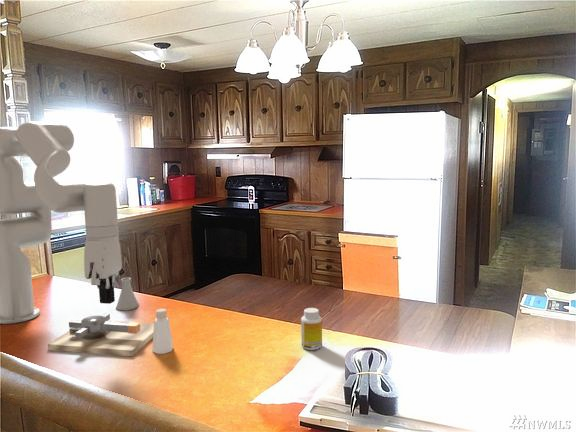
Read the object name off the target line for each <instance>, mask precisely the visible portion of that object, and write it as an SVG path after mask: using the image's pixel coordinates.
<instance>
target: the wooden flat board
mask: <svg viewBox="0 0 576 432" xmlns="http://www.w3.org/2000/svg"><path fill="white" fill-rule="evenodd" d="M107 322H122V323H140V331H139V332H138V333H137V334H131V333H126V332H112V331H106V334H105V335H104V336H102V337H100V338H96V339H84V338H83V337H82V338H81V339H78V338H76V336H75V332H77V331H78V330H80V329H82V328H69V331H67V332H65V333H63V334H62V335H60V336H59V337H57V338H55V339H53V340H52V341H50V342H49V343H47V350H48V351H55V352H56V351H59V352H69V353H70V352H71V353H72V352H73V353H85V354H96V355H97V354H98V355H110V356H122V357H123V356H124V357H133V356H135V355H136V354H137V353H138V352H139V351H140V350H141V349H143V348H144V347H145V346H146V345H147V344H148V343H149V342H151V341H152V340H153V333H154V322H153V323H151V322H150V323H149V322H138V321H137V322H135V321H122V320H121V321H120V320H119V321H118V320H108V321H107Z"/></svg>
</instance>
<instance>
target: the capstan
mask: <svg viewBox="0 0 576 432" xmlns="http://www.w3.org/2000/svg"><path fill="white" fill-rule="evenodd" d="M110 320H111V314H110V313H104V314H102V315H91V316H87V317H84V318H83V319H81V320H72V319H71V320H69V321H68V327H69V329H71V328H82V329H80V330H78V331H77V332H75V336H76V338H78V339H81V338H82V337H83V338H84V339H96V338H100V337H102V336H104V335H105V334H106V331H112V332H126V333H131V334H137V333H138V332H139V331H140V323H141V322H138V323H122V322H123V321H122V322H107V321H110Z"/></svg>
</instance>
